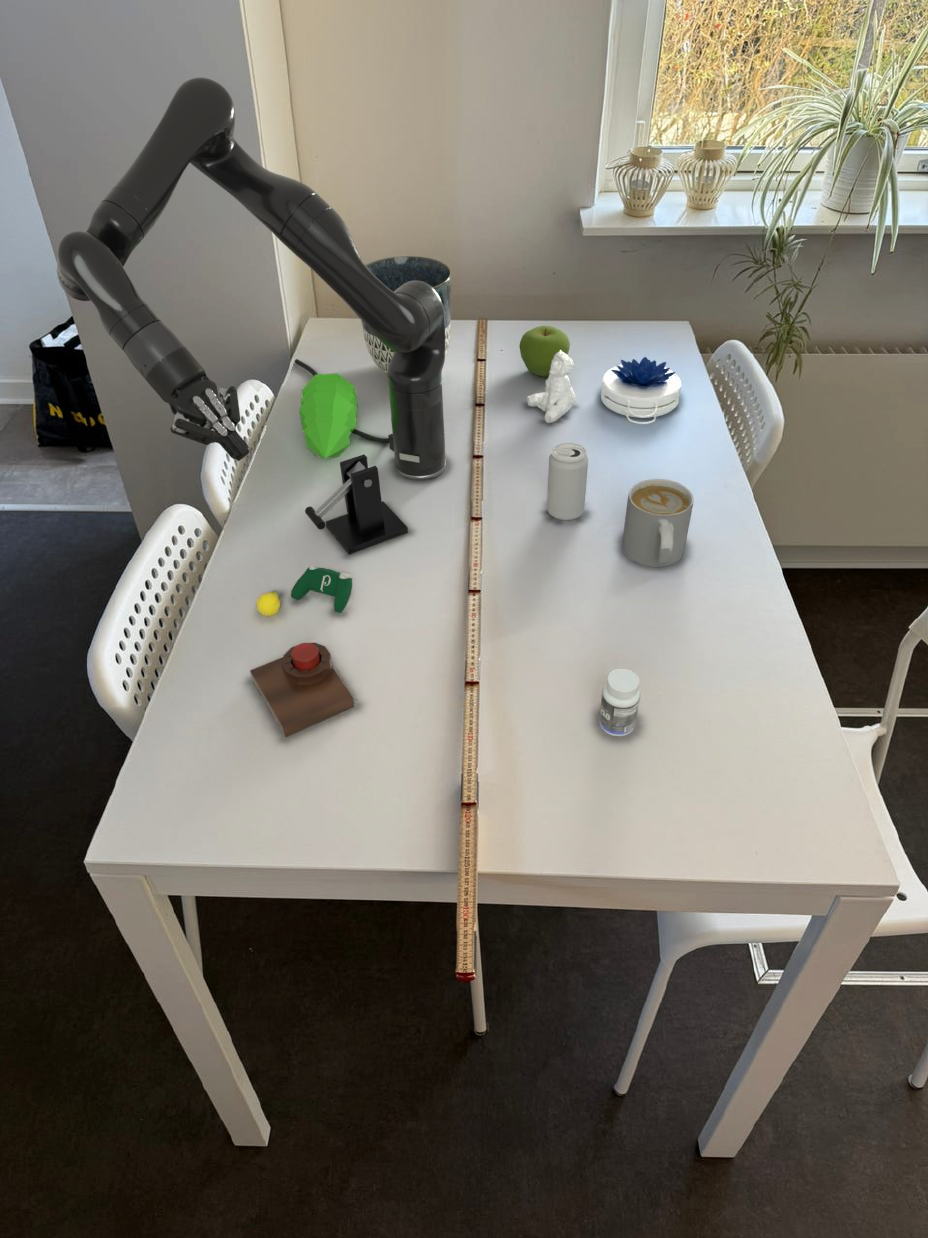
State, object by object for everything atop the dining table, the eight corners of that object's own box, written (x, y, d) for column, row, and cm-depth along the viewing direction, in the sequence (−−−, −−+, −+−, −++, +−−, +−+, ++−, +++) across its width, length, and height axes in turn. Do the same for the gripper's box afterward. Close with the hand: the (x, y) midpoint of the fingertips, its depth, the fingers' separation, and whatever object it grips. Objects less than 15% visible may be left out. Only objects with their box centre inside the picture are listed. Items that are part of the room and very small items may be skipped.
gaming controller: (350, 615, 132) (361, 578, 132) (339, 613, 128) (350, 574, 128) (299, 600, 135) (310, 563, 135) (287, 597, 131) (298, 559, 131)
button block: (252, 681, 120) (247, 660, 117) (320, 653, 124) (316, 633, 121) (285, 737, 112) (280, 717, 110) (356, 706, 116) (352, 686, 113)
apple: (521, 360, 190) (522, 316, 183) (569, 362, 188) (571, 318, 182) (516, 383, 182) (517, 338, 175) (566, 386, 180) (569, 340, 174)
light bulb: (259, 622, 129) (249, 601, 127) (271, 605, 134) (262, 585, 133) (279, 617, 128) (270, 596, 127) (290, 600, 133) (281, 579, 132)
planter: (454, 394, 179) (450, 292, 165) (361, 395, 180) (349, 294, 165) (455, 351, 193) (452, 254, 179) (369, 353, 194) (359, 256, 179)
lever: (322, 532, 137) (313, 524, 136) (310, 517, 141) (301, 509, 139) (377, 480, 137) (369, 471, 135) (363, 465, 140) (355, 457, 138)
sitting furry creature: (524, 404, 175) (525, 348, 167) (560, 393, 178) (563, 338, 170) (548, 424, 169) (551, 367, 161) (585, 413, 172) (589, 357, 164)
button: (289, 658, 118) (287, 649, 117) (313, 648, 119) (311, 639, 118) (299, 674, 116) (297, 665, 114) (324, 664, 117) (322, 654, 116)
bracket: (348, 554, 140) (339, 489, 132) (326, 527, 146) (315, 462, 137) (408, 532, 144) (402, 467, 136) (383, 506, 150) (376, 442, 141)
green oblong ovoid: (341, 347, 169) (336, 419, 146) (369, 396, 176) (368, 472, 153) (291, 372, 171) (278, 446, 148) (321, 419, 178) (313, 497, 155)
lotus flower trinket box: (604, 348, 177) (602, 395, 163) (681, 351, 176) (685, 399, 161) (602, 379, 182) (599, 427, 168) (676, 382, 180) (680, 431, 166)
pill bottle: (595, 711, 114) (600, 667, 108) (630, 708, 114) (637, 664, 109) (602, 739, 111) (608, 695, 105) (638, 736, 111) (646, 692, 105)
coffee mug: (623, 526, 144) (630, 475, 137) (684, 532, 142) (693, 481, 136) (618, 577, 134) (625, 525, 128) (683, 584, 133) (693, 532, 126)
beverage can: (582, 524, 145) (587, 463, 136) (544, 521, 146) (546, 460, 138) (585, 503, 149) (590, 442, 141) (548, 499, 150) (551, 439, 142)
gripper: (138, 367, 118) (223, 467, 122) (205, 331, 127) (283, 425, 130) (122, 393, 124) (204, 488, 127) (187, 357, 132) (262, 447, 136)
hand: (244, 456), depth 129 cm, fingers closed
